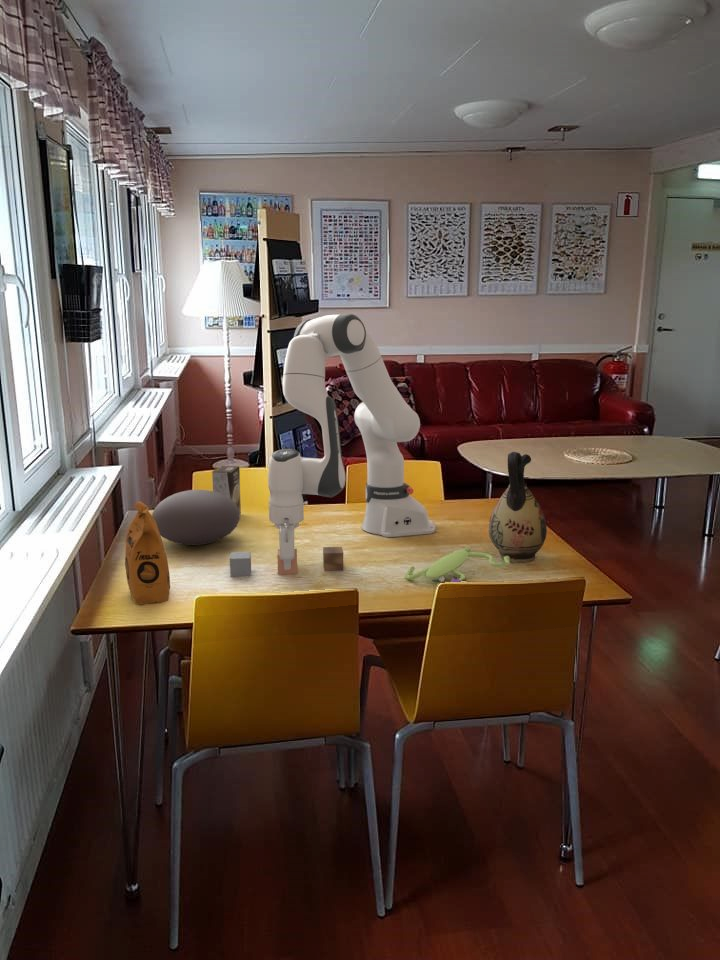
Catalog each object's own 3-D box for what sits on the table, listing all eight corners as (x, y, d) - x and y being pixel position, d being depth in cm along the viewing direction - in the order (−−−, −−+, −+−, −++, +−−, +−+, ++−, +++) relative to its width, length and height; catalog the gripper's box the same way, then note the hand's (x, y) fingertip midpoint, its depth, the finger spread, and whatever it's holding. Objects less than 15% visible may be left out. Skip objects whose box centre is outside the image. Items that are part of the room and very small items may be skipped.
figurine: (519, 575, 196) (520, 555, 195) (447, 599, 180) (448, 578, 179) (468, 557, 210) (469, 538, 209) (397, 578, 194) (397, 557, 193)
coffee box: (233, 521, 240) (231, 472, 236) (213, 521, 241) (211, 471, 237) (241, 513, 249) (239, 465, 245) (222, 512, 250) (220, 465, 246)
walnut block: (342, 564, 203) (341, 546, 202) (343, 571, 198) (343, 552, 197) (323, 565, 202) (323, 547, 201) (324, 571, 198) (324, 553, 196)
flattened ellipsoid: (241, 553, 211) (239, 501, 207) (148, 557, 207) (145, 505, 203) (240, 526, 235) (238, 480, 231) (157, 530, 231) (154, 483, 227)
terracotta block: (297, 566, 201) (296, 548, 200) (297, 573, 196) (297, 555, 195) (278, 567, 200) (277, 549, 199) (277, 574, 196) (277, 555, 194)
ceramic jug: (497, 545, 219) (502, 442, 211) (550, 553, 212) (557, 448, 205) (477, 563, 204) (482, 453, 197) (534, 572, 197) (541, 459, 190)
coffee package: (127, 607, 174) (120, 515, 169) (127, 588, 186) (120, 501, 181) (172, 602, 177) (166, 512, 172) (168, 583, 189) (163, 498, 183)
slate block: (251, 569, 199) (250, 551, 198) (250, 576, 194) (249, 558, 193) (231, 570, 198) (231, 552, 197) (230, 577, 193) (229, 558, 192)
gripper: (299, 525, 185) (300, 578, 188) (298, 502, 204) (298, 551, 208) (273, 525, 184) (274, 579, 187) (274, 503, 204) (275, 551, 207)
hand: (287, 564), depth 198 cm, fingers closed on terracotta block, 5 cm apart
